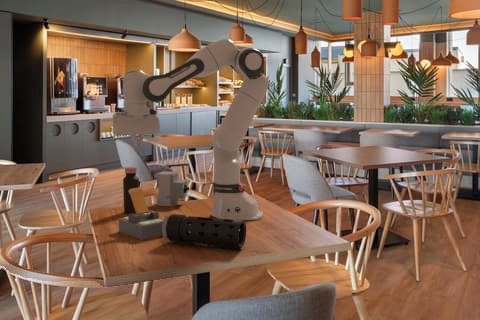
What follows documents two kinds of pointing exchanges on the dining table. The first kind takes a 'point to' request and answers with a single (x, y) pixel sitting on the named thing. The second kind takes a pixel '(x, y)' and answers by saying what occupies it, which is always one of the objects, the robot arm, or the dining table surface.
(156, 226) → the panel
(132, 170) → the bottle
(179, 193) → the circuit breaker
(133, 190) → the lever
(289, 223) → the dining table surface
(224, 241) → the muzzle brake
